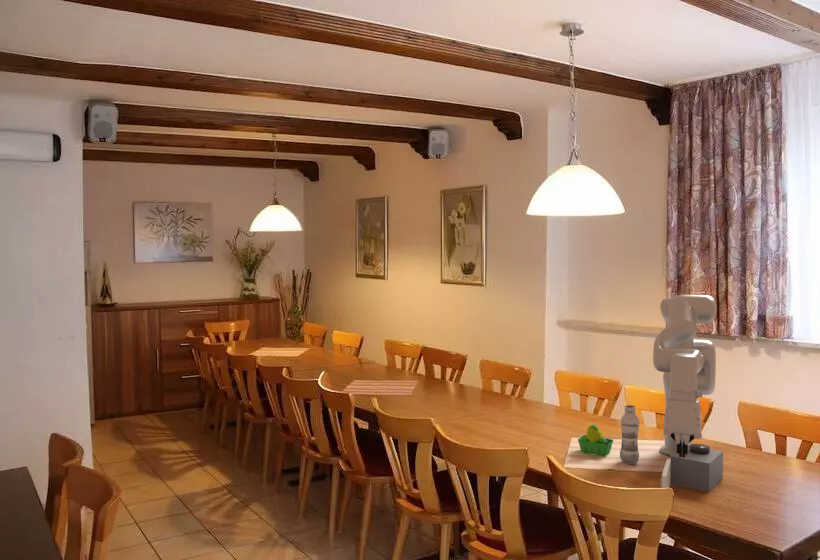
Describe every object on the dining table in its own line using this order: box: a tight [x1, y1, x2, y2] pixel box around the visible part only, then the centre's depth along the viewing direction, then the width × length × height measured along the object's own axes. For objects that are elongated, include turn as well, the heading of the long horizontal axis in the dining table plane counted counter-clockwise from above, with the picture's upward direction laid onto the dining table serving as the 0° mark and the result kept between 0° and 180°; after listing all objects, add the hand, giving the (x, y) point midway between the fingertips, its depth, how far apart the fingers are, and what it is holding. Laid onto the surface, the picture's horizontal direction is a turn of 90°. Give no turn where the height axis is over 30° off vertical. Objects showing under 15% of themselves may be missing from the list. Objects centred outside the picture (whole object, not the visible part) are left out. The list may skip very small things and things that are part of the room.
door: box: [659, 458, 672, 489], centre depth 214 cm, size 2×18×8 cm, turn 155°
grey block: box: [669, 443, 724, 493], centre depth 225 cm, size 16×12×11 cm
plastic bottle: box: [619, 404, 640, 465], centre depth 243 cm, size 6×7×20 cm
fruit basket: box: [577, 424, 615, 458], centre depth 255 cm, size 11×9×11 cm
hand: (682, 455), depth 206 cm, fingers closed
